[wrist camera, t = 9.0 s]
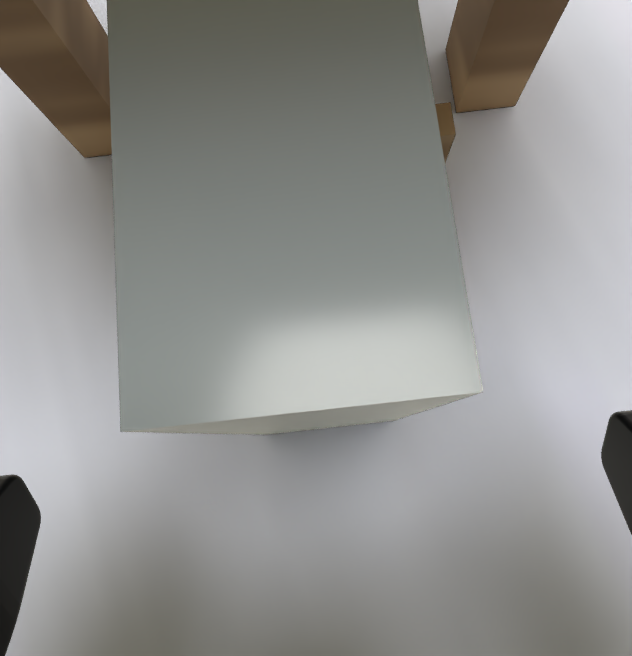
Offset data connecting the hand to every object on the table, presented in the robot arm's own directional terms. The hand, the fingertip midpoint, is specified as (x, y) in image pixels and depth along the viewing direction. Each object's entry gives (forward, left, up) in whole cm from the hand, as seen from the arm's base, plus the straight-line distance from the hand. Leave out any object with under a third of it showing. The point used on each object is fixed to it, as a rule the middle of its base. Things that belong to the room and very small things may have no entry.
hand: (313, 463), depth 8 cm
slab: (+4, +2, -8) cm, 9 cm away
